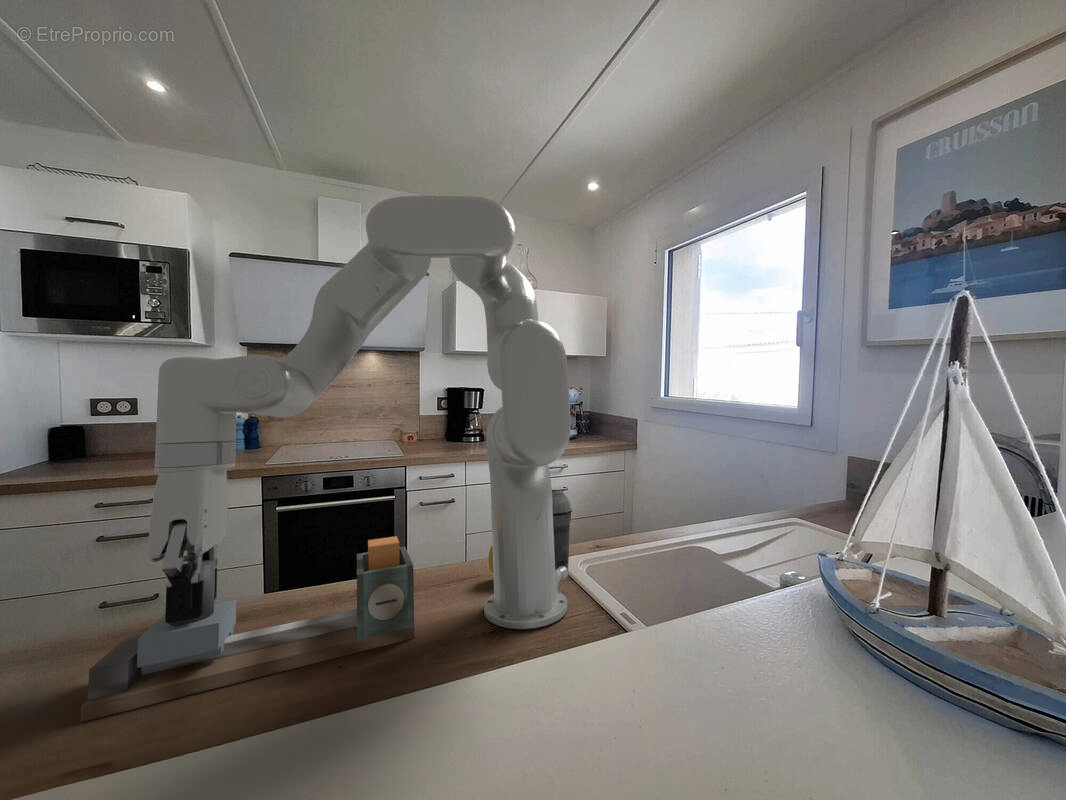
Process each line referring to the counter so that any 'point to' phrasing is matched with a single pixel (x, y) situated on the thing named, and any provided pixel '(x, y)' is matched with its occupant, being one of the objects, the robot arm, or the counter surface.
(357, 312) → the robot arm
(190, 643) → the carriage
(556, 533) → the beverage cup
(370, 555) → the orange block
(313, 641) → the rail base
